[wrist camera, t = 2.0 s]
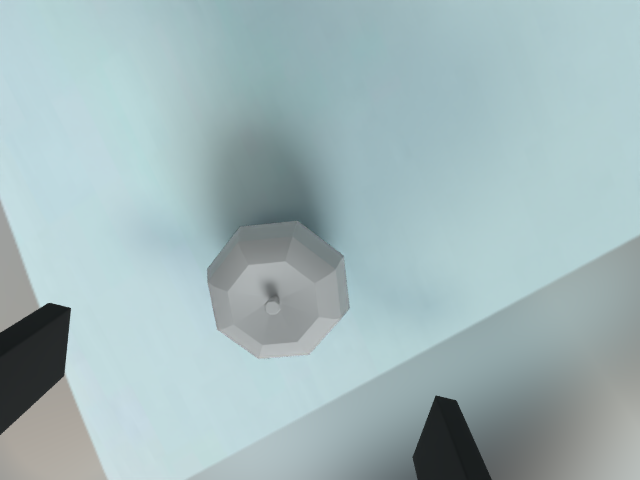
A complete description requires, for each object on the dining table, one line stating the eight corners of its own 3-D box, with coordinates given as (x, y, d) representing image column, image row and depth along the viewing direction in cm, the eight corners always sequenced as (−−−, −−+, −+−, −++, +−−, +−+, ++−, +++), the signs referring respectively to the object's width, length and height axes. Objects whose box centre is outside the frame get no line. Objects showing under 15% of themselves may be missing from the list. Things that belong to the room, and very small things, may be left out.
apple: (213, 302, 28) (177, 355, 21) (240, 187, 26) (208, 208, 19) (330, 334, 28) (328, 395, 22) (366, 223, 26) (375, 255, 20)
